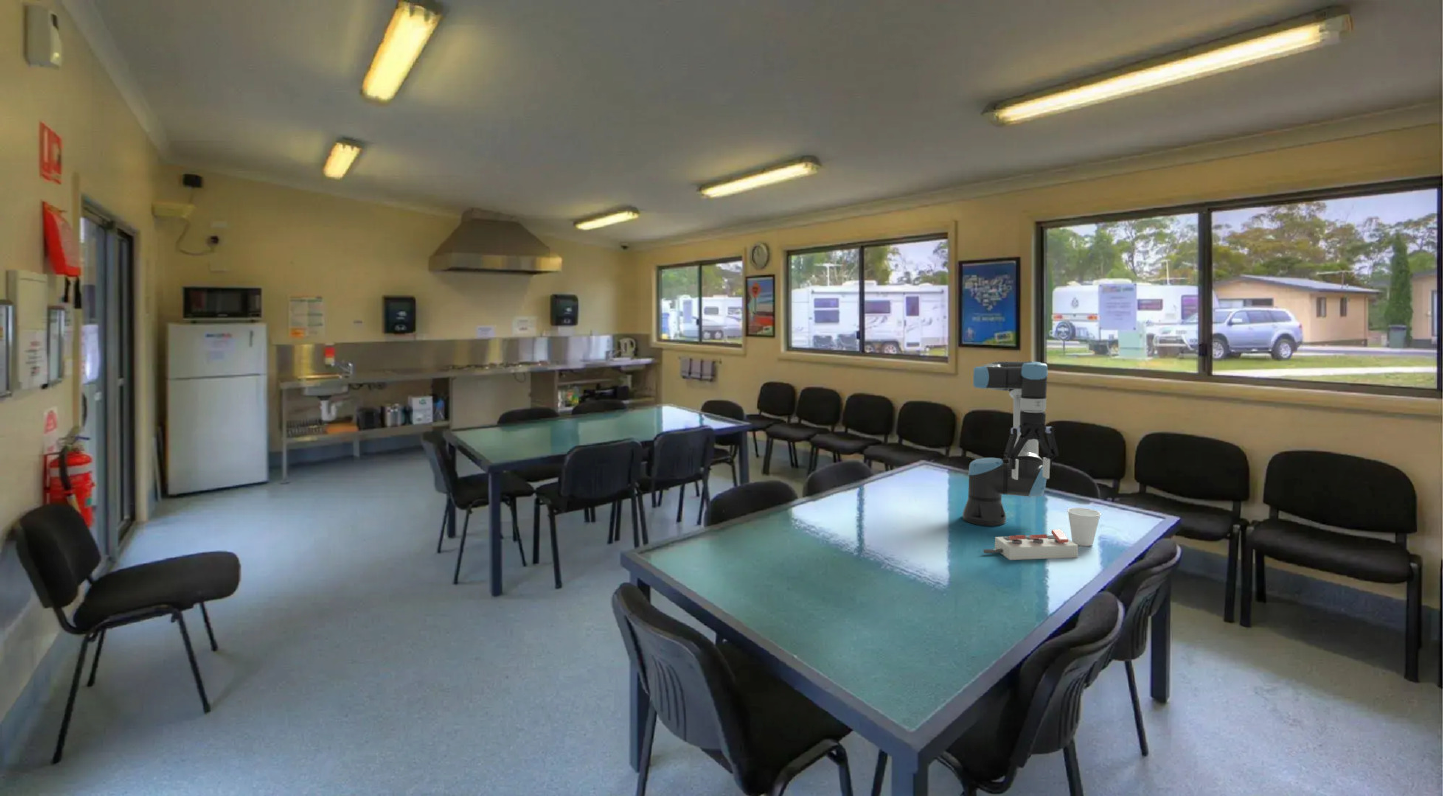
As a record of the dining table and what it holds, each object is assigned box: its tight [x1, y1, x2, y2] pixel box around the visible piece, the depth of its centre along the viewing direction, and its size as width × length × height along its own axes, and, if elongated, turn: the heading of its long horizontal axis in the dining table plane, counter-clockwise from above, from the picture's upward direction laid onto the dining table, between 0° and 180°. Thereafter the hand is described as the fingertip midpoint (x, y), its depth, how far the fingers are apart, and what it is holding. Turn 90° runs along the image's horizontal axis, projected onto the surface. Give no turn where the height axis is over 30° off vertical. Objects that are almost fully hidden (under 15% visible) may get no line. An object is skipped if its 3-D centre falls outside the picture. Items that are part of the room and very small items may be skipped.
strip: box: [982, 534, 1079, 561], centre depth 209 cm, size 10×28×5 cm, turn 93°
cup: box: [1066, 507, 1102, 547], centre depth 217 cm, size 10×10×11 cm
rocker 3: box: [1050, 529, 1070, 543], centre depth 208 cm, size 5×3×1 cm, turn 3°
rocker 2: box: [1029, 533, 1048, 539], centre depth 207 cm, size 5×3×1 cm, turn 2°
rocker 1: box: [1008, 534, 1026, 540], centre depth 207 cm, size 5×3×1 cm, turn 2°
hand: (1030, 478), depth 212 cm, fingers open, 10 cm apart
